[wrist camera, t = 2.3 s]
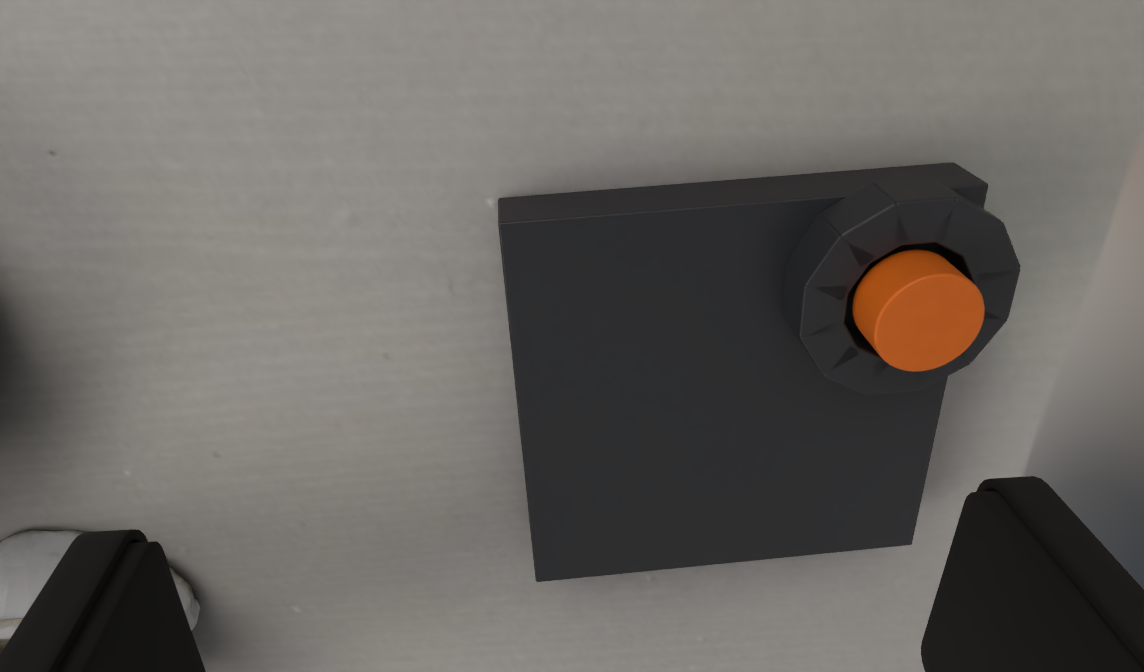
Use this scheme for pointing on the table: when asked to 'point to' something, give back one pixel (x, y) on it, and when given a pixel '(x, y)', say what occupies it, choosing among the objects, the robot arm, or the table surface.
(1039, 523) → the robot arm
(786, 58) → the table surface
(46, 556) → the figurine
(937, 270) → the button
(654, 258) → the scale
